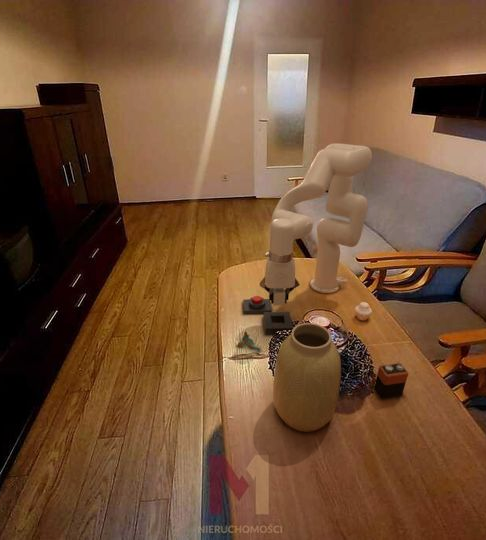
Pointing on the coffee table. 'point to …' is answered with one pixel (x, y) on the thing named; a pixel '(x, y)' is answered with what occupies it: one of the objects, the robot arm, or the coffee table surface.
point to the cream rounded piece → (363, 311)
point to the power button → (257, 299)
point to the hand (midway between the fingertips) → (278, 301)
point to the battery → (391, 380)
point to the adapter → (276, 317)
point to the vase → (307, 378)
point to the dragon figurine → (247, 341)
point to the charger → (279, 296)
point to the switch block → (256, 306)
